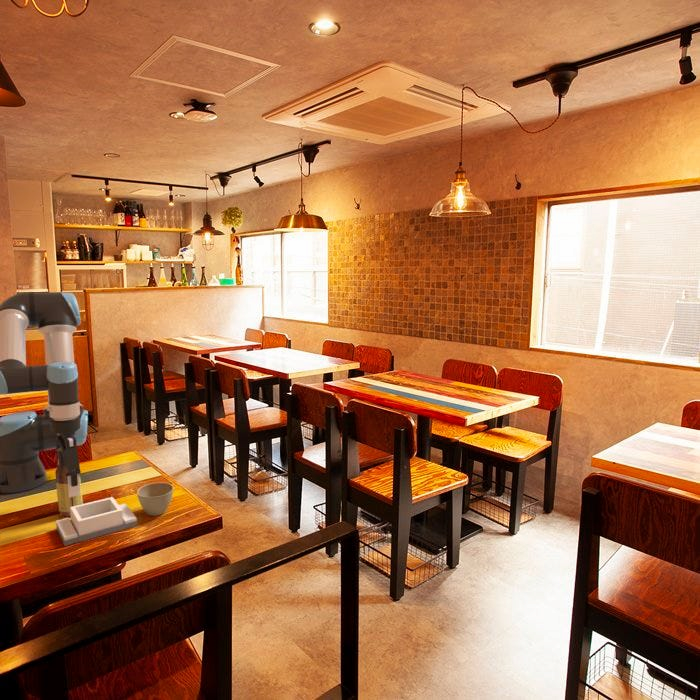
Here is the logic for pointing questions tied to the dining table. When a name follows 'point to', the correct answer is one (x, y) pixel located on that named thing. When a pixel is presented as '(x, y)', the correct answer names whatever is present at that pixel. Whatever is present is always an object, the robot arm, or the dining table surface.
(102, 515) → the caddy
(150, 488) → the flower pot
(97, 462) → the dining table surface
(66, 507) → the sauce bottle
